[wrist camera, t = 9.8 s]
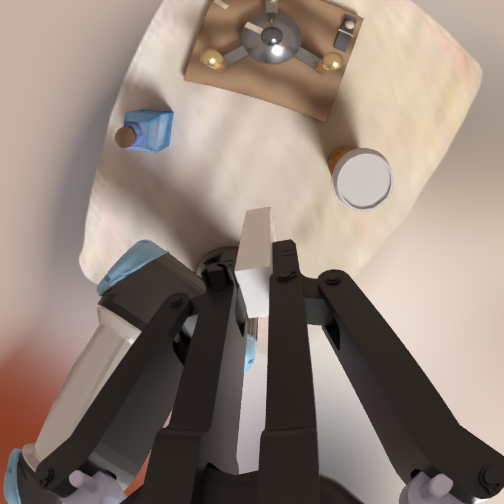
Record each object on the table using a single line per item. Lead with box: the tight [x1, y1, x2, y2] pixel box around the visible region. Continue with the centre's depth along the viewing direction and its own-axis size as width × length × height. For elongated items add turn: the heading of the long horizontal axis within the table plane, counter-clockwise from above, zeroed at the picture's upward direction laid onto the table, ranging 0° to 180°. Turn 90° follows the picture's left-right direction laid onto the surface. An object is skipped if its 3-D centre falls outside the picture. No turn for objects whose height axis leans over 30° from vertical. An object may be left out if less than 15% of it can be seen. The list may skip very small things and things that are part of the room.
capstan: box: [200, 0, 344, 75], centre depth 30 cm, size 16×18×10 cm
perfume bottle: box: [115, 110, 174, 152], centre depth 39 cm, size 6×6×12 cm
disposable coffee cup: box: [328, 147, 394, 212], centre depth 41 cm, size 10×10×12 cm
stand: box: [184, 0, 364, 122], centre depth 35 cm, size 21×24×4 cm
